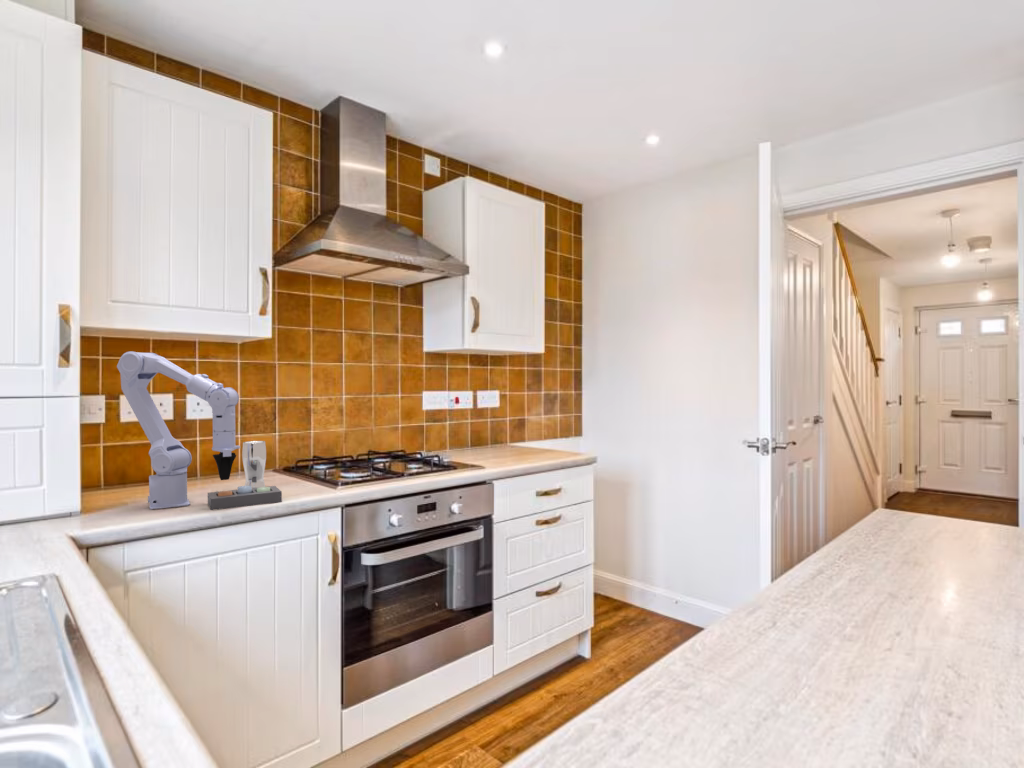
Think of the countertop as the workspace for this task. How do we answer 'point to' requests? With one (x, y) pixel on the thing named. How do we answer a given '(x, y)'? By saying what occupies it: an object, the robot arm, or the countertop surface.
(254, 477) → the beer glass
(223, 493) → the orange button
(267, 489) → the green button
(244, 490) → the blue button
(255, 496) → the button panel
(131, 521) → the countertop surface
